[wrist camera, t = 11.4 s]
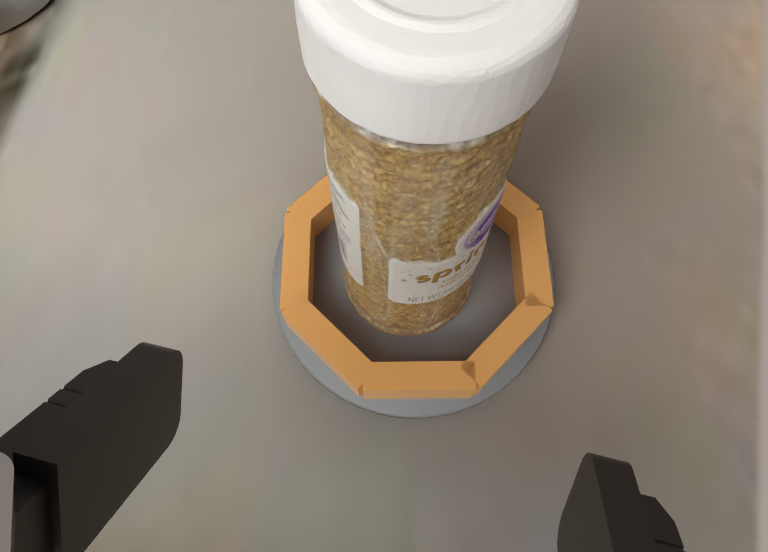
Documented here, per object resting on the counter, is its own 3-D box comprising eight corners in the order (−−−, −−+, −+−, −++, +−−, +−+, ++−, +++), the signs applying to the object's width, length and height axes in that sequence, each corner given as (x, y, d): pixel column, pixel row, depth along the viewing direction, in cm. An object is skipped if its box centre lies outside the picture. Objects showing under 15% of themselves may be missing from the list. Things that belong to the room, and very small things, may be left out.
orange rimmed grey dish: (219, 281, 22) (204, 259, 20) (407, 119, 25) (409, 86, 23) (419, 483, 20) (422, 479, 18) (605, 277, 22) (625, 255, 20)
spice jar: (450, 356, 21) (553, 106, 8) (324, 315, 21) (235, 20, 9) (486, 240, 22) (618, -120, 10) (367, 204, 23) (347, -181, 10)
